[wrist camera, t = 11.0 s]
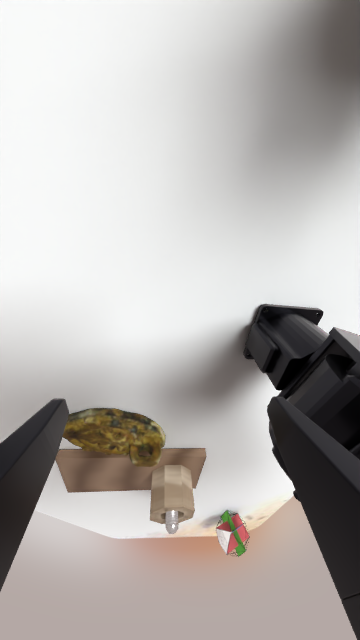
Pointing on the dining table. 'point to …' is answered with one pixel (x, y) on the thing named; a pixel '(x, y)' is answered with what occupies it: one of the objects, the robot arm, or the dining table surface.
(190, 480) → the beech bead
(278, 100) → the dining table surface
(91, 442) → the olive gold carved ornament
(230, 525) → the geometric puzzle
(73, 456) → the board
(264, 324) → the robot arm
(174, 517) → the steel post
